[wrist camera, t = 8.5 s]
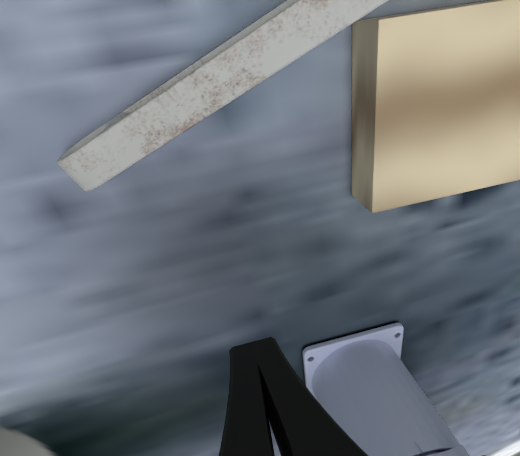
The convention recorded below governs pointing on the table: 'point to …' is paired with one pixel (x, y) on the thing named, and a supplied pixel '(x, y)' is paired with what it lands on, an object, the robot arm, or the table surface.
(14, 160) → the table surface
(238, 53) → the wrench
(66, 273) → the table surface
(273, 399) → the robot arm
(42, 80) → the table surface
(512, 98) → the board
